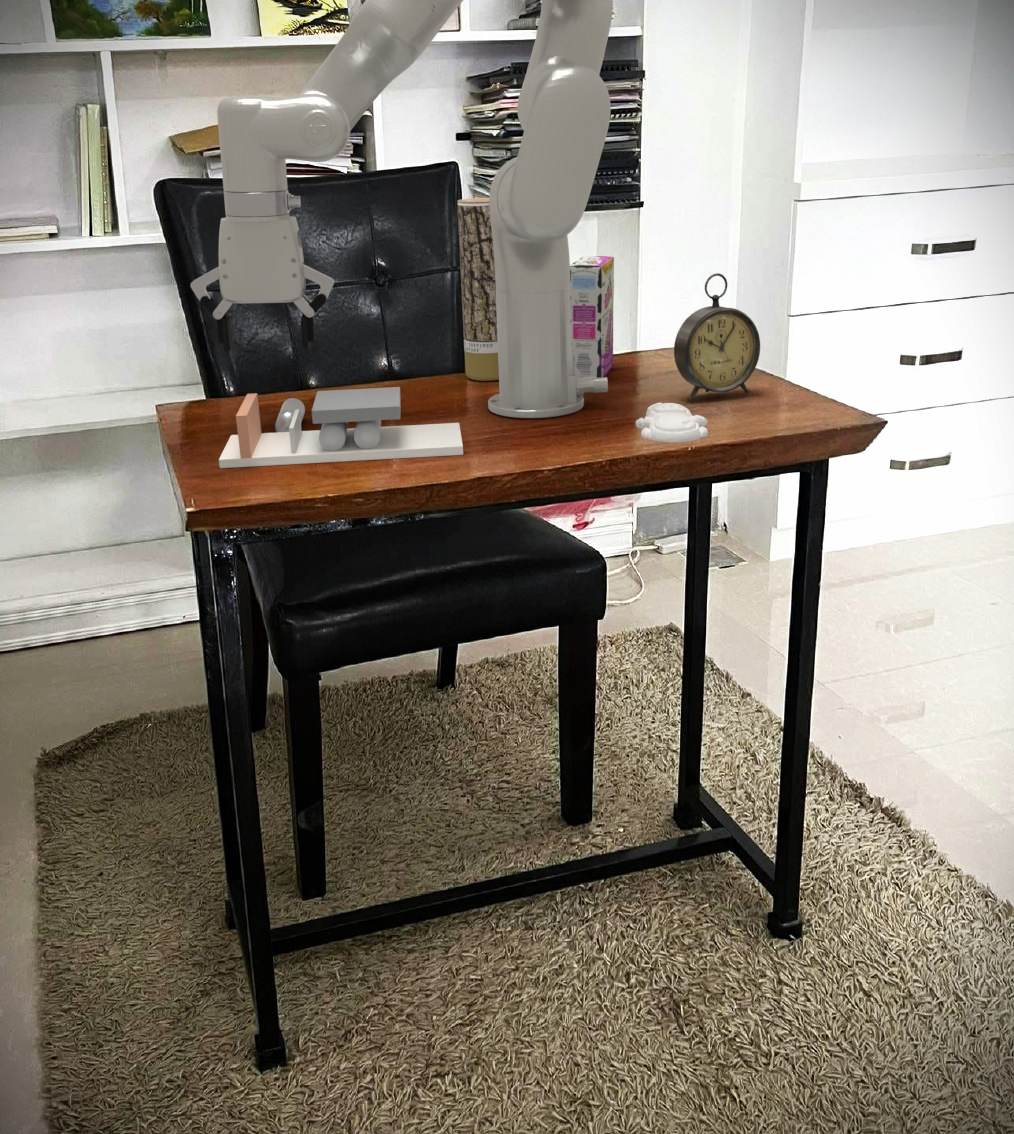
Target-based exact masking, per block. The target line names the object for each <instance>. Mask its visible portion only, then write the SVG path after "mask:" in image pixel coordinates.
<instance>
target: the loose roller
mask: <svg viewBox="0 0 1014 1134" xmlns="http://www.w3.org/2000/svg"><path fill="white" fill-rule="evenodd" d="M295 409H300V419H301V423H302V422H303V419H304V415H305V411H306V408H305V405H304V403H303V401H301V400H300V399H299V398H297V397H296V398H294V397H291V398H287V399H285V401H284V402H283V403H282V405H281V408H280V411H279V413H278V415H277V418H276V420H275V424H274V428H275V433H277V432H289V427H290V424H291V421H292V418H293V415H294V412H295Z"/></svg>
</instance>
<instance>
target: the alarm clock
mask: <svg viewBox="0 0 1014 1134" xmlns="http://www.w3.org/2000/svg"><path fill="white" fill-rule="evenodd" d="M714 277H720V278H722V279H723V282H724V290H723V292H722V293H721V294H720V295H718V294H713V295H712V296H711V294H709V292H708V284H709V282H710V280H711V279H713V278H714ZM727 289H728V279H727V278H726V277H725V275H724V274H722V273H717V272H716V273H713V274H710V276H708V278H707V279H706V280H705V283H704V291H705V294H706V296H707V297H708V298H709V299H711V300H712V305H711V306H706V307H705V306H704V307H701V308H699V309H697V310H696V311H694V312H693V313H691V314H690V315H688V317H687V318H686V319H685V320H684V321H683V322H682V324H681V326H680V327H679V329H678V331H677V333H676V336H675V340H674V344H673V345H674V346H673V357H674V362H675V366H676V368H677V371H678V372H679V374H680V376H681V377H682V378H683V380H685V381H686V382H687V383H689V384H690V385H692V386H693V389H692V391H691V393H690V395H689V397H688V398H687V402H689V403H691V402H693V398H694V397H695V396H696V395H697V394H698V392H699V390H701V389H703V390H705V393H709V392H712V393H716V394H719V393H720V394H721V393H726V392H731V391H733V390H736V389H737V388H739V387H740V388H741V389H742V390H743V391H744V393H745V394H747V395H748V394H749V393H750V390H749V389H748V388H747V387H746V384H745V382H747V380H749V378H750V377H751V376H752V374H753V372H754V371H755V369H756V367H757V365H758V362H759V359H760V354H761V338H760V333H759V330H758V328H757V326H756V324H755V322H754V321H753V319H752V318H750V317H749V316H748V315H747V314H746V313H745V312H744V311H741V310H739V309H737V308H733V307H725V306H720V298H723V296H724V295H725V294H726V293H727Z"/></svg>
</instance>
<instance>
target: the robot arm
mask: <svg viewBox="0 0 1014 1134" xmlns="http://www.w3.org/2000/svg"><path fill="white" fill-rule="evenodd" d="M463 1H464V0H365V1H364V2H363V3H362V4H361V7H360V8H359V9H358V11H357V12H356V13H355V15H354V16H353V18H352V20H351V21H350V23H349V25H348V27H347V29H346V30H345V32H344V34H343V35H342V37H341V38H340V40H339V41H337V43H336V44H335V46H334V47H333V49H332V50H331V52H330V53H329V54H328V55H327V57H326V58H325V59H324V61H323V62H322V63H321V65H319V67H318V69H317V70H316V71H315V73H314V74H313V75H312V76H311V78H310V79H309V80H308V82H306V84H305V86H304V87H303V88H302V90H300V92H299V93H298V94H297V96H294V97H286V98H276V99H275V98H273V97H271V96H229V97H225V98H223V99H222V100H220V101H219V103H218V105H217V109H216V110H217V111H216V114H217V129H218V139H219V141H218V142H219V149H220V150H219V153H220V161H221V172H222V188H223V198H224V210H225V217H222V218H220V224H219V233H218V266H217V267H215V268H214V269H211V270H210V271H208V272H206V273H205V274H203V275H201V276H199V277H198V278H196V279H193V281H192V282H190V288H191V290H192V291H193V293H194V295H195V296H196V299H198V300H199V303H200V305H201V306H202V307H203V308H204V309H205V310H207V311H208V313H210V314H211V315H212V317H213V318H214V319H215V320H216V328H217V329H216V331H217V340H218V345H223V351H224V352H225V353H227V352H230V351H232V349H233V346H234V343H233V342H234V341H233V330H232V318H231V316H230V315H229V313H228V311H229V309H230V308H231V307H232V305H233V304H279V303H282V304H283V303H293V304H294V305H295V306H296V307H297V308H298V309H299V310H300V311H301V313H302V316H301V317H300V325H301V326H300V328H301V342H302V343H301V344H302V349H303V350H304V351H309V350H310V347H311V343H314V342H316V336H315V335H316V333H315V321H314V320H315V319H314V318H315V317H314V315H316V313H317V312H318V311H319V310H320V309H321V308H322V306H324V304H326V302H327V300H328V298H329V296H330V293H331V291H332V289H333V287H334V284H335V280H334V278H332V277H330V276H328V275H326V274H324V273H322V272H320V271H319V270H316V269H314V268H313V267H310V266H308V265H306V264H305V261H304V260H305V259H304V252H303V251H304V250H303V245H302V238H301V233H300V228H299V223H298V220H297V217H296V216H290V211H292V209H295V208H301V203H302V202H301V195H294V194H292V193H289V190H288V178H287V163H286V162H287V161H286V160H287V159H288V160H296V161H297V160H298V161H303V162H310V163H311V162H312V163H313V162H314V163H323V162H329V161H331V160H333V159H335V158H337V157H339V155H340V154H342V153H343V151H344V150H345V148H346V147H347V145H348V144H349V139H350V135H351V131H352V129H353V128H355V126H356V125H357V123H358V122H359V120H360V119H361V118H362V117H363V115H364V114H365V113H366V112H367V110H368V108H370V106H371V105H372V104H373V103H374V101H376V99H377V98H378V97H379V96H380V95H381V93H382V92H383V91H384V90H385V88H387V87H388V86H389V85H390V84H391V83H392V82H393V81H394V80H395V79H396V78H398V77H399V76H400V75H401V74H403V73H404V72H405V71H406V70H408V69H409V68H410V67H412V65H413V64H414V63H415V62H416V61H417V60H418V58H419V57H420V56H421V55H422V54H423V53H424V51H425V50H426V49H427V47H428V46H429V45H430V44H431V42H432V41H433V40H434V39H435V37H436V36H437V35H438V33H439V32H440V30H441V29H442V28H443V27H444V25H445V24H446V23H447V21H449V19H450V18H451V17H452V15H453V14H454V12H456V11H457V10H458V8H459V6H460V5H461V4H462V3H463ZM613 3H614V0H541V5H540V7H541V8H540V15H539V21H538V25H537V29H536V30H537V31H536V35H535V39H534V40H535V41H534V42H533V43H534V44H533V46H532V51H531V55H530V59H529V60H528V61H529V63H528V66H527V69H526V73H525V76H524V78H523V83H522V87H521V89H520V92H519V95H518V101H517V106H516V107H517V117H518V121H519V125H520V127H521V128H522V130H523V134H522V138H521V142H520V146H519V148H518V149H519V150H518V153H517V156H516V157H513V158H511V159H510V160H508V161H507V162H505V163H504V164H503V165H502V166H501V167H500V168H498V170H497V172H496V174H495V175H494V177H493V178H492V179H493V180H492V182H491V185H490V190H489V197H488V198H489V211H490V221H491V229H492V237H493V247H494V260H495V281H496V313H497V339H498V364H499V380H498V383H499V384H498V385H499V386H498V387H499V389H498V390H499V393H497V394H494V395H493V396H491V397H489V399H488V400H487V405H488V410H489V411H490V412H492V413H493V414H495V415H498V416H503V417H507V418H518V419H543V418H545V419H546V418H554V417H560V416H566V415H570V414H573V413H576V412H579V411H580V410H582V409H583V407H584V406H585V398H584V394H585V393H596V394H597V393H607V392H608V391H609V381H608V377H607V376H605V377H600V378H596V377H595V376H586V377H583V376H580V377H578V375H576V374H575V372H574V371H573V369H572V367H571V318H570V265H571V261H570V258H571V257H570V248H569V238H568V235H569V234H570V233H571V232H572V231H574V230H575V228H576V226H578V224H579V222H581V221H580V220H581V219H582V217H583V215H584V212H585V210H586V207H587V204H588V201H589V198H590V195H591V191H592V188H593V185H594V182H595V178H596V174H597V171H598V168H599V167H598V166H599V165H600V164H599V163H600V160H601V156H602V153H603V149H604V145H605V142H606V138H607V135H608V131H609V126H610V121H611V110H612V109H611V107H612V106H611V99H610V94H609V90H608V87H607V86H606V83H605V82H604V80H603V79H602V77H601V76H600V74H601V73H600V72H601V69H602V66H603V61H604V59H605V58H604V57H605V53H606V48H607V43H608V39H609V35H610V30H611V25H612V20H613V12H614V10H613V9H614V4H613ZM306 279H307V280H310V281H312V282H313V283H316V284H317V285H319V286H320V288H319V291H318V294H317V295H316V296H315V297H314V298H313V299H312V300H311V301H310V299H309V298H308V297H307V296H306V294H305V293H306V289H307V288H306V286H307V285H306ZM218 280H219V281H218ZM216 281H218V282H219V290H220V291H219V292H220V295H221V298H222V300H221V301H220V302H218V301H216V300H215V298H213V297H212V296H211V295H210V294H209V292H208V291H207V286H209V285H211V284H212V283H214V282H216Z"/></svg>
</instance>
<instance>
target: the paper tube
mask: <svg viewBox="0 0 1014 1134" xmlns="http://www.w3.org/2000/svg"><path fill="white" fill-rule="evenodd" d="M456 207H457V225H458V226H457V227H458V242H459V243H458V246H459V262H460V263H459V265H460V267H459V268H460V285H461V287H460V288H461V289H460V290H461V291H460V292H461V304H462V305H461V309H462V310H461V311H462V327H463V331H462V332H463V347H464V348H463V350H464V363H465V364H464V368H465V375H466V377H467V378H468V379H470V380H472V381H480V382H489V381H490V382H491V381H492V382H494V381H499V364H498V339H497V313H496V281H495V260H494V247H493V237H492V229H491V221H490V211H489V197H475V198H473V197H472V198H464V199H458V200H457V206H456Z"/></svg>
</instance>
